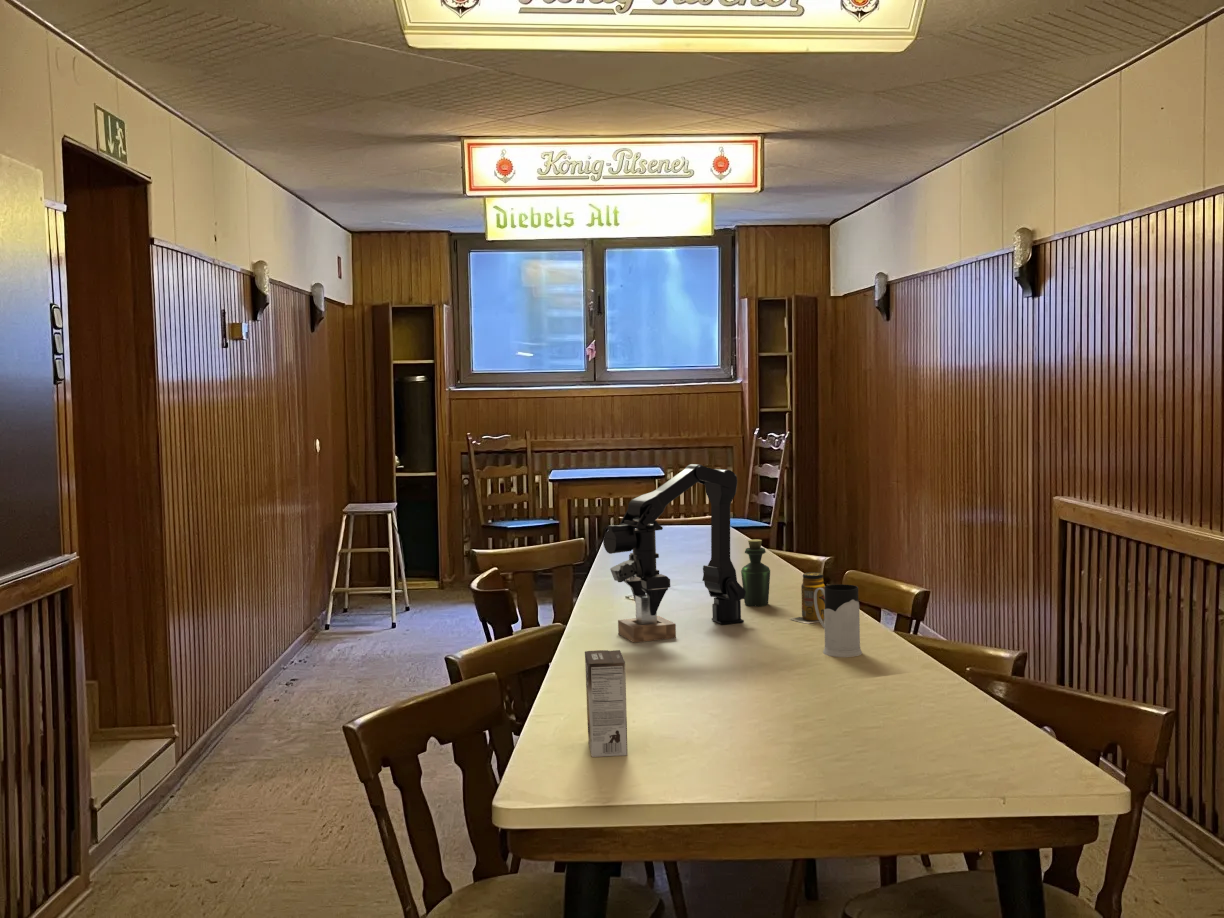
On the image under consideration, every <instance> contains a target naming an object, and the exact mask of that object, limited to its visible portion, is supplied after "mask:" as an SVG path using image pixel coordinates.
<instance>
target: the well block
mask: <svg viewBox="0 0 1224 918" xmlns="http://www.w3.org/2000/svg"><path fill="white" fill-rule="evenodd" d="M676 627H677V625H676V623H675V622H673V621H671V620H669V619H666V618H664V617H662V616H660V615H657V624H648V625H638V624H636V617H634V618H623V619H618V620H617V629H618V635H620V636H621V637H623V638H625V639H627V640H628V641H630V642H632V643H644V642H650V641H660V640H668V639H671V640H672V639H677V630H676Z"/></svg>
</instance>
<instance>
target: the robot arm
mask: <svg viewBox="0 0 1224 918" xmlns="http://www.w3.org/2000/svg"><path fill="white" fill-rule="evenodd" d="M697 483H698V484H701V485H704V488H705V489H704V490H705V494H706V496H707V498H708V501H709V503H710V507H711V508H710V512H711V513H710V517H711V518H710V520H711V521H710V538H711V539H710V542H711V543H710V545H711V546H710V548H711V549H710V554H711V555H710V560H709V561H708V564H707V565H703V566H702V572H703V575H702V579H701V580H702V582H704V586H705V588H706V589H707V591H708V593H709V597H711V598H713V603H712V605H711V607H712V618H711V621H713V622H716V623H718V624H720V625H727V624H737V623H744V622H745V620H744V619H742V609H741V608H742V606H741V605H742V604H741V600H744V597H745V593H746V591H745V590H744V588H743V585H741V584H740V582H738V577H737V571H736V570H737V569H736V568H735V566H734V563H733V562H732V559H731V504H732V502H733V500H734V498H735V496H736V494H737V487H738V477H737V474H735V473H734V471H732V470H731V469H719V468H718V469H717V468H710V467H708V466H705V465H702V464H696V463H695V464H693V463H691V464H688V465H687V466H686V467H685V468H684V469H683V470H682V471H680V472H679V473H677V474H675V475H674V476H673V477H672V478H670V479H669V480H668V481H666V482H665V483H663V484H662V485H660V486H659V487H658V488H656V489H655V490H652V491H651V492H648V493H644V494H641V495H639V496H637V497H635V498H632V499H631V500H630V501H629V502H628V504H627V505H628V507H627V510H626V512H625V513H624V515H623V517H622V518H621V521H620V522H619V525H618V524H617V525H616V524H615V525H614V524H610V525H608V526H607V531H605V533H604V535H603V536H604V537H603V538H602V542H603V544H602V545H603V547H604V550H605V552H606V553H607V554H611V555H612V554H618V553H619V554H620V553H628V552H630V553H629V555H628V560H626V561H623V562H620V563H618V564H616V565H614V566H612V567H610V569H609V570H610V572H611V574H612V578H613V580H614V582H615V581H616V582H618V583H623V582H624V584H626V585H627V586H629V588H630V589H631V593H632V596H633V599H634V602H635V604H636V600H635V595H645V594H647V597H648V603H649V609H650V614H651V615H652V616H653V615H655V614H656V612H657V613H658V610H659V608H660V605H661V602H662V600H663V598H664V596H665V594H666V592H667V591H668V590H669V588H671V579H670V578H669V577H668V576H667V575H665V574H662V573H660V570H659V569H657V559H659V558H660V554H659V553H658V552H657V545H656V543H657V541H656V531H663V528H664V527H663V526H662V525H661V524H659V523H658V521H657V519H658V518H659V517H660V516H661V515H662V514H663V513H664V511H665V509H666V507H667V506H668V505H669V504H670V503H671V502H672V501H674V500H675V499H676V498H678V497H679V496H681V495H682V494H684V493H686V491H688V490H689V489H691V487H693V486H694V485H695V484H697ZM631 551H632V552H631Z"/></svg>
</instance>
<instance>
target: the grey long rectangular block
mask: <svg viewBox="0 0 1224 918" xmlns="http://www.w3.org/2000/svg"><path fill="white" fill-rule="evenodd" d="M635 600H636V603H635V618H636V624H638V625H648V624H657V616H658V615H657V613H658V611H657V612H656V614H655V615H653V616H652V615H651V614H650V609H649V603H648V597H647V594H645V595H635ZM635 600H634V601H635Z"/></svg>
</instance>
